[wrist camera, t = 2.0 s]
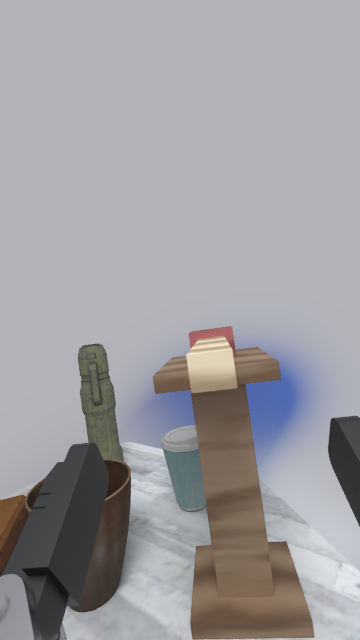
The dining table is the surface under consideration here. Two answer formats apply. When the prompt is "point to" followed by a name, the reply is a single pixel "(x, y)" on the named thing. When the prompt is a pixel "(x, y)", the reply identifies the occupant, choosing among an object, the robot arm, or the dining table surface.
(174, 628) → the dining table surface
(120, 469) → the plant pot
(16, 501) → the diary
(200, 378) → the bar
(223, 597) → the brown tall pedestal shape
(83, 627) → the dining table surface
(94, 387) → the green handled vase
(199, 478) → the disposable coffee cup
